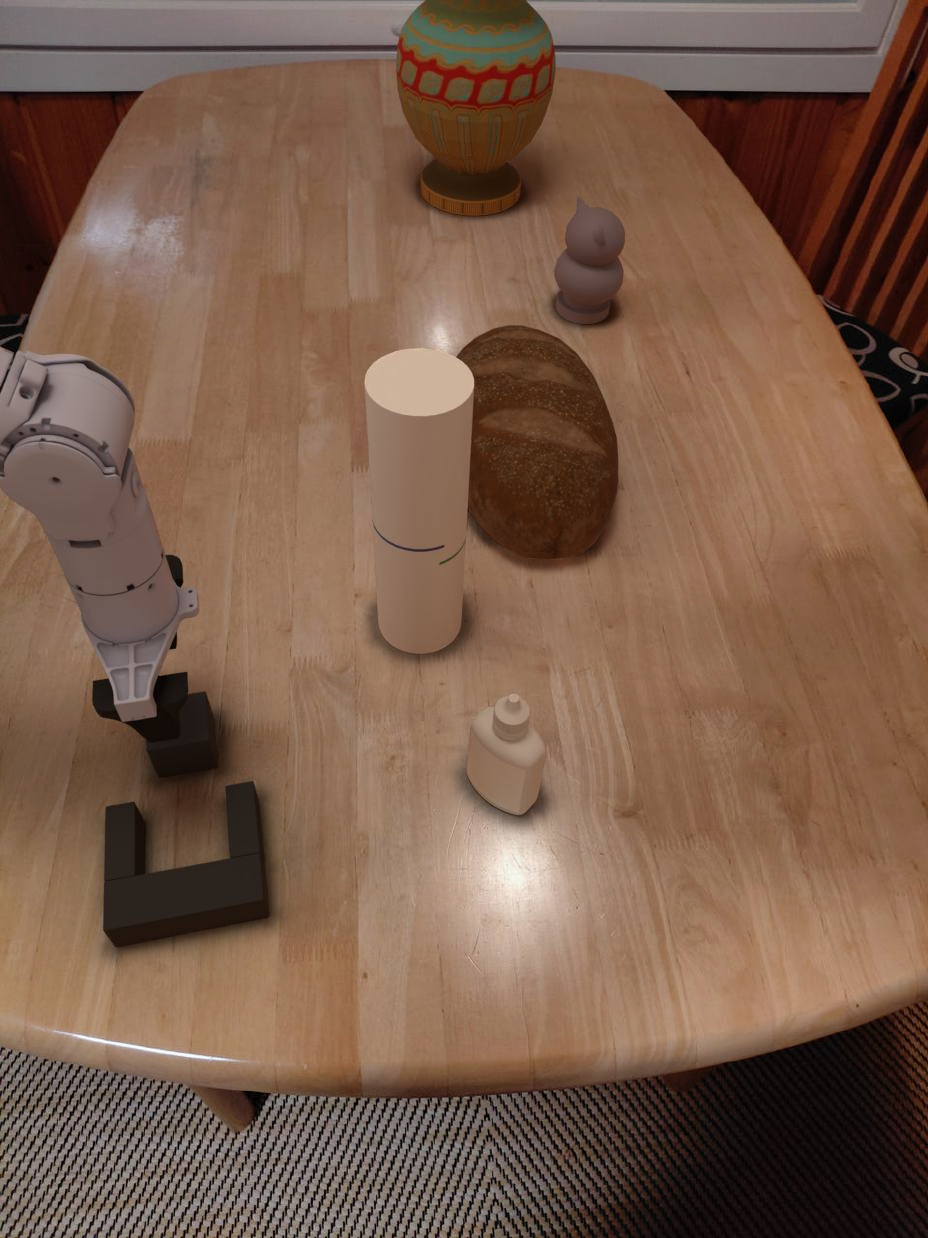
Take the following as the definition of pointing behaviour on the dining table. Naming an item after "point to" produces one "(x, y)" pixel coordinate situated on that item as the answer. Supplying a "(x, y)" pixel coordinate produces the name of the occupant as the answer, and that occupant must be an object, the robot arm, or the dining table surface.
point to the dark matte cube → (188, 741)
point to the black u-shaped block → (183, 877)
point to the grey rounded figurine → (589, 265)
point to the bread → (538, 444)
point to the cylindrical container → (419, 493)
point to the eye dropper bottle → (506, 755)
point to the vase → (474, 96)
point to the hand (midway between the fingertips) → (163, 690)
